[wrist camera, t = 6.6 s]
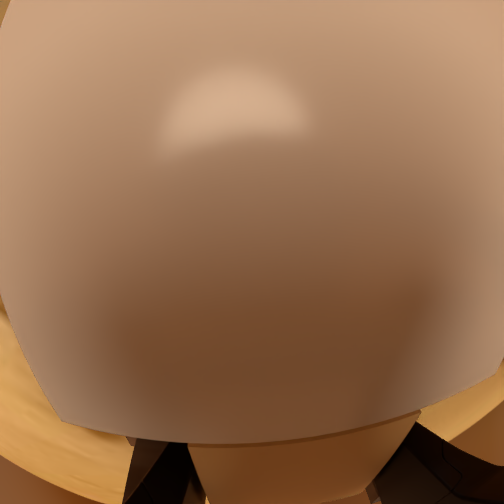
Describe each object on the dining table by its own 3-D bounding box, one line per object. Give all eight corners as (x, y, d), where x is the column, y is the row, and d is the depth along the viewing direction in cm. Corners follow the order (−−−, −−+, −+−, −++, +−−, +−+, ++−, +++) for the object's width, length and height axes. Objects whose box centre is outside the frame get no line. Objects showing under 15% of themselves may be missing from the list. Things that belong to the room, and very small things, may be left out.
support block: (365, 330, 8) (421, 412, 4) (336, 424, 9) (360, 493, 6) (200, 341, 8) (187, 446, 4) (214, 435, 9) (213, 512, 6)
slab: (475, 30, 3) (523, 17, 2) (456, 336, 6) (494, 374, 4) (77, -13, 3) (37, -51, 1) (92, 362, 6) (61, 421, 4)
